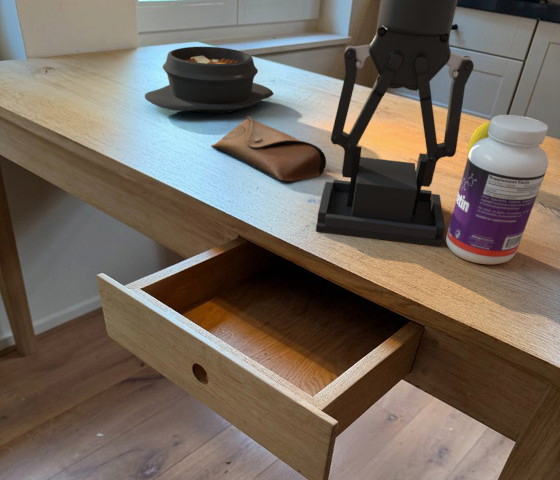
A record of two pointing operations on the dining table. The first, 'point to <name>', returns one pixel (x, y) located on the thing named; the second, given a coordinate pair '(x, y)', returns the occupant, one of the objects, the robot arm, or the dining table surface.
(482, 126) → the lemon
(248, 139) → the sunglasses case
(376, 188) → the black block
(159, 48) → the dining table surface
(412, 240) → the base pad
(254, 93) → the casserole
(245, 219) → the dining table surface
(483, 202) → the pill bottle
